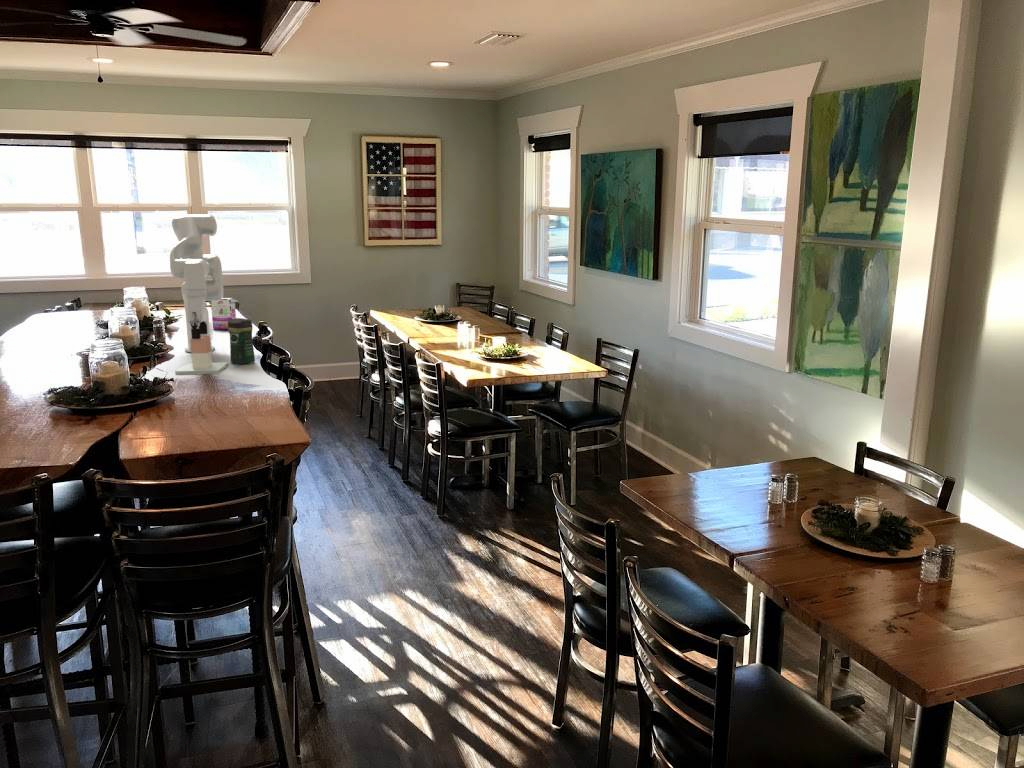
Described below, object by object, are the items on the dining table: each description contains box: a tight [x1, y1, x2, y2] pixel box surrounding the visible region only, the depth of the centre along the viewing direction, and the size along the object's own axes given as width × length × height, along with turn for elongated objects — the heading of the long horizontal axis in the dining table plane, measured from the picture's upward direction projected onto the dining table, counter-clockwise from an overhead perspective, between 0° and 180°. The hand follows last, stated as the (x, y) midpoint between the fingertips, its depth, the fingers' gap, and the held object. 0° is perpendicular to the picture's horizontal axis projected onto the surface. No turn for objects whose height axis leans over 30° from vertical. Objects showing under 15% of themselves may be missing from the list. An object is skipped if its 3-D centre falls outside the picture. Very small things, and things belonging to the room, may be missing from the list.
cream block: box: [190, 351, 213, 368], centre depth 320 cm, size 6×6×6 cm
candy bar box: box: [210, 297, 237, 330], centre depth 419 cm, size 11×5×16 cm, turn 81°
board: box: [175, 362, 229, 375], centre depth 320 cm, size 16×16×1 cm
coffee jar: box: [227, 317, 256, 365], centre depth 333 cm, size 10×8×19 cm
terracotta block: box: [190, 335, 212, 354], centre depth 318 cm, size 6×6×6 cm
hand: (199, 336), depth 318 cm, fingers open, 9 cm apart
